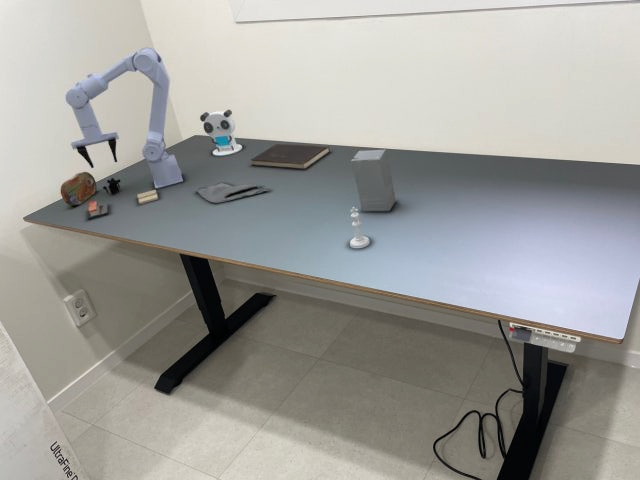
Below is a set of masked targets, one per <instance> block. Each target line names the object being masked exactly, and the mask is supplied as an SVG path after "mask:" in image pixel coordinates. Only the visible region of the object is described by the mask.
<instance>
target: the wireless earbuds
mask: <svg viewBox="0 0 640 480" xmlns="http://www.w3.org/2000/svg"><path fill="white" fill-rule="evenodd" d="M106 183H107V184H108V187H107V186H106V185H104V186H103V187H102V189H103V190H105V191H106V194H107V195H108V194H109V192H110V193H111V194H117V192H119V191H120V188H121V186H120V184H119V183H121V179H120V178H118V179H117V180H116V179H115V177H111V178H110V179H107V180H106ZM108 189H109V190H108Z"/></svg>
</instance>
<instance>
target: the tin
mask: <svg viewBox="0 0 640 480" xmlns="http://www.w3.org/2000/svg"><path fill="white" fill-rule="evenodd" d="M96 191H97V182H96V179H95V177H94V176H93V175H92V174H91V173H90V172H88V171H82V172H78V173H75V174H74V175H73V176H72V177H70V178H68V179H67V180H66V181H64V182H63V183H62V184H61V186H60V195H61V197H62V199H63V202H64V203H65V204H67V205H69V206H80V205H82V204H83V203H84V202H86V201H87V200H88V199H90V198H91V197H92V196H94V195H95V193H96Z"/></svg>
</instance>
